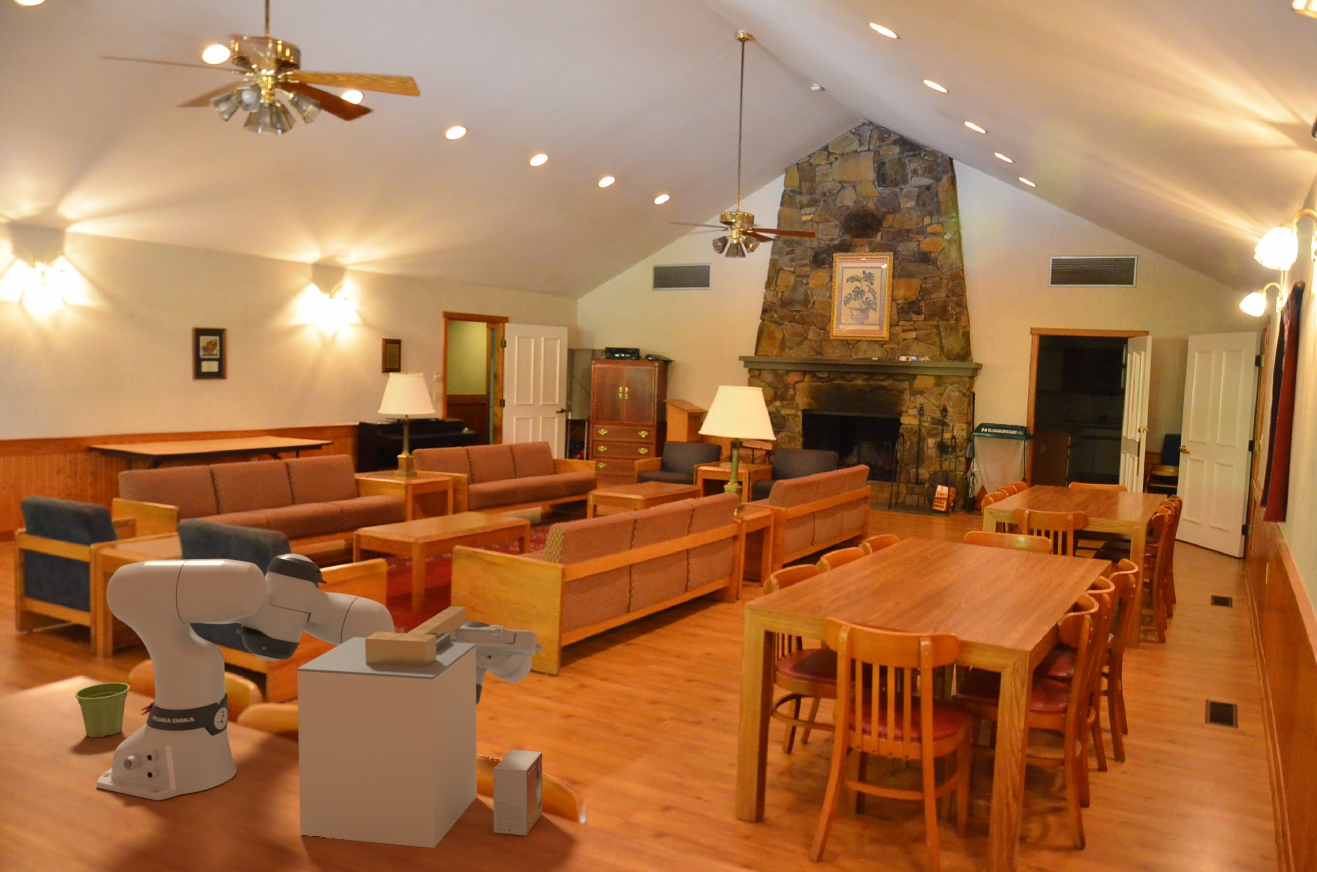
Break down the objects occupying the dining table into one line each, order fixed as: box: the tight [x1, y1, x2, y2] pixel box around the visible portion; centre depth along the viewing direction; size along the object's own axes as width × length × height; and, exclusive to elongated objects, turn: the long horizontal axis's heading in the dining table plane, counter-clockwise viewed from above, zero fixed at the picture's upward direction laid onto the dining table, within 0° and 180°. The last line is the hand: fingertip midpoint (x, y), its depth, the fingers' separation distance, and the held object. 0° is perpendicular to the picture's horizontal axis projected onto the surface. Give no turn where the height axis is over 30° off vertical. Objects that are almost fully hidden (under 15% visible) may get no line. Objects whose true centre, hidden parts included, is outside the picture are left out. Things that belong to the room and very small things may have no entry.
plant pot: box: [74, 682, 131, 738], centre depth 190 cm, size 9×9×9 cm
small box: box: [492, 749, 543, 836], centre depth 152 cm, size 8×6×10 cm
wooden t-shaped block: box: [365, 605, 467, 667], centre depth 161 cm, size 10×26×4 cm, turn 170°
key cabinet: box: [296, 633, 478, 849], centre depth 154 cm, size 22×18×28 cm
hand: (474, 630), depth 182 cm, fingers open, 8 cm apart
